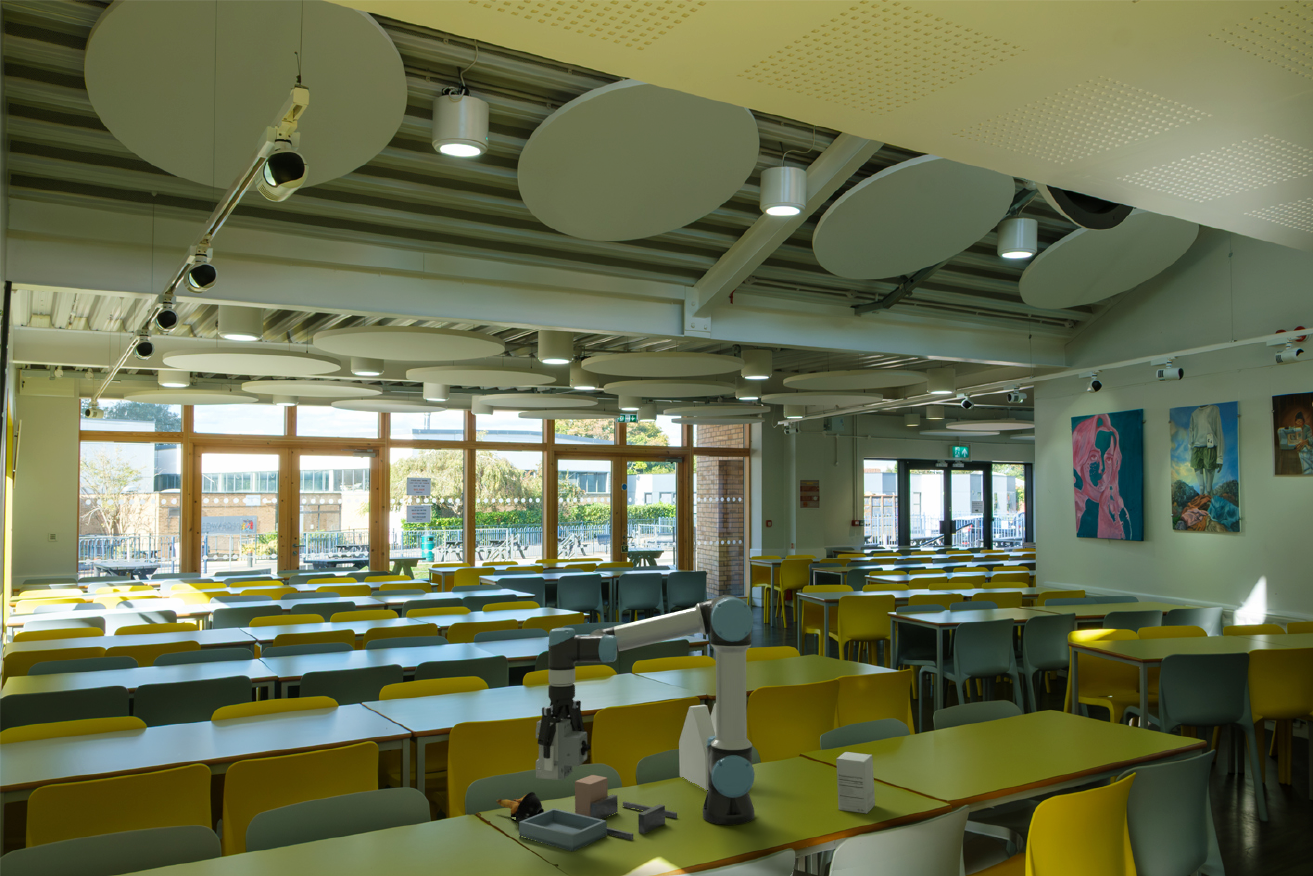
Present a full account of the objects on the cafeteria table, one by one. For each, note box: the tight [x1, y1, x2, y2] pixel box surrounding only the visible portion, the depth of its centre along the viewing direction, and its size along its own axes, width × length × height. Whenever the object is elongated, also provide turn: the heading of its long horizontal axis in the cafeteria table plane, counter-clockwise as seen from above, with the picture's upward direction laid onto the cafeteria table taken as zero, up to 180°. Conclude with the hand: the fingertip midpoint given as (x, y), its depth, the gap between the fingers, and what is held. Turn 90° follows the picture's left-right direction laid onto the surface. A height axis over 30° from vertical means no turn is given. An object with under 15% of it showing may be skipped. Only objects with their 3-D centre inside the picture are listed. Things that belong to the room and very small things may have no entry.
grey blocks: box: [591, 794, 678, 841], centre depth 246 cm, size 20×22×5 cm
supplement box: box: [836, 751, 876, 814], centre depth 256 cm, size 9×9×15 cm
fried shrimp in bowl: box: [496, 791, 545, 823], centre depth 250 cm, size 9×11×18 cm
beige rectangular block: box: [574, 774, 609, 817], centre depth 254 cm, size 6×8×10 cm
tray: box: [518, 808, 608, 852], centre depth 235 cm, size 20×14×4 cm
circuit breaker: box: [535, 717, 591, 781], centre depth 238 cm, size 8×14×15 cm, turn 77°
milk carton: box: [678, 702, 716, 791], centre depth 287 cm, size 19×15×25 cm
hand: (561, 766), depth 237 cm, fingers closed on circuit breaker, 10 cm apart
